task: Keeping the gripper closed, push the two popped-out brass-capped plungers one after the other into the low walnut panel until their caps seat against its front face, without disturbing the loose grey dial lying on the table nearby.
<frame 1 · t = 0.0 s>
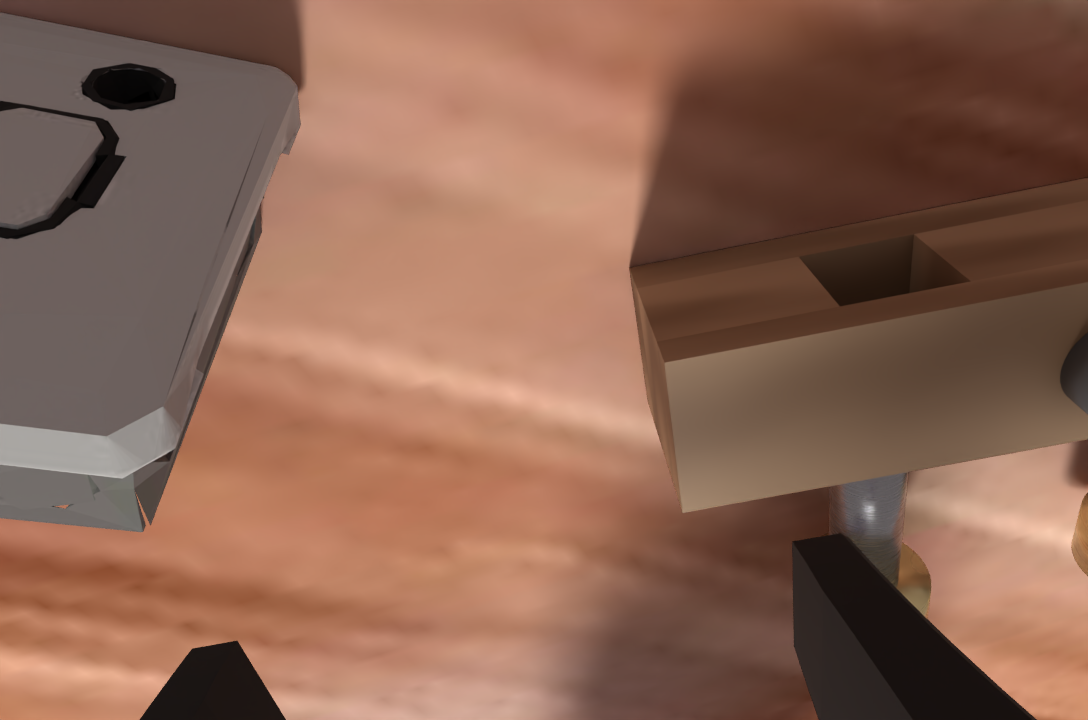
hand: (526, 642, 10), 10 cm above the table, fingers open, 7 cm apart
walnut panel: (996, 269, 19), on the table
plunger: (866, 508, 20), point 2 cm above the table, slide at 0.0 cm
electrical switch: (93, 153, 17), on the table
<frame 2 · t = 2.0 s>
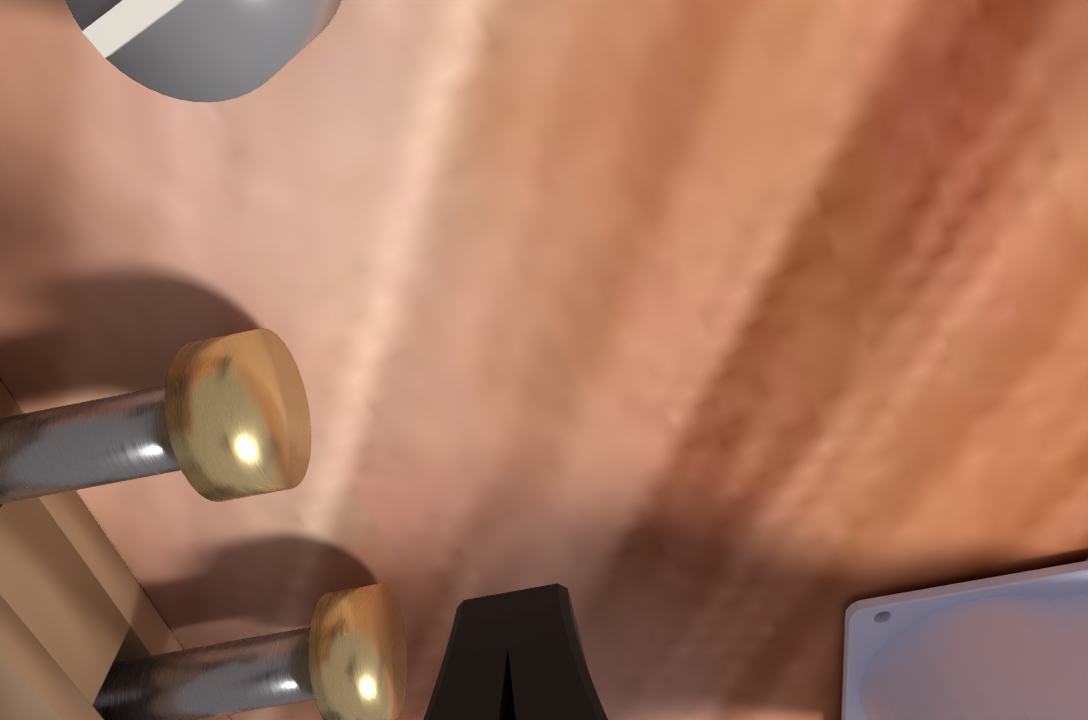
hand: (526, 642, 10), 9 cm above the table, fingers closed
walnut panel: (28, 539, 21), on the table
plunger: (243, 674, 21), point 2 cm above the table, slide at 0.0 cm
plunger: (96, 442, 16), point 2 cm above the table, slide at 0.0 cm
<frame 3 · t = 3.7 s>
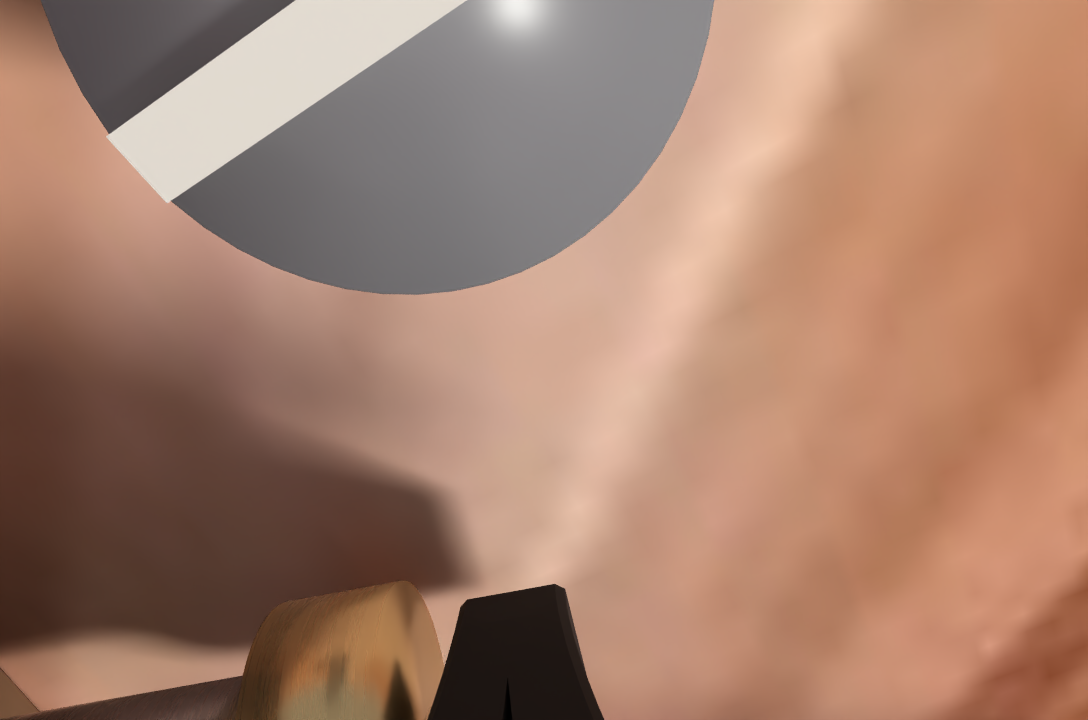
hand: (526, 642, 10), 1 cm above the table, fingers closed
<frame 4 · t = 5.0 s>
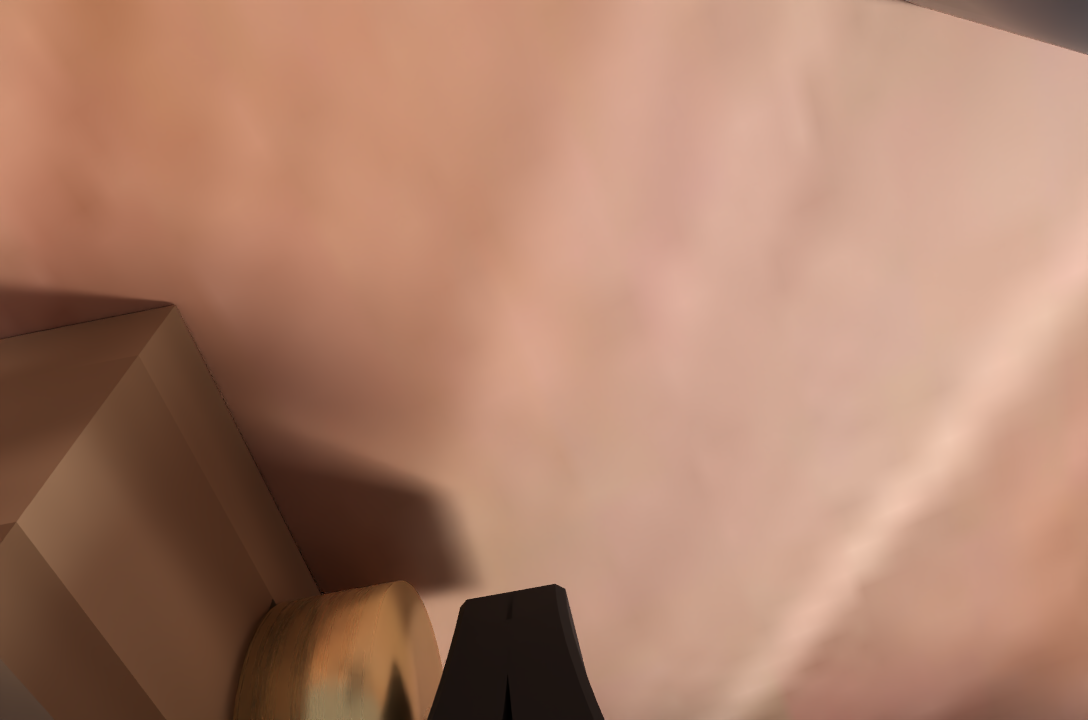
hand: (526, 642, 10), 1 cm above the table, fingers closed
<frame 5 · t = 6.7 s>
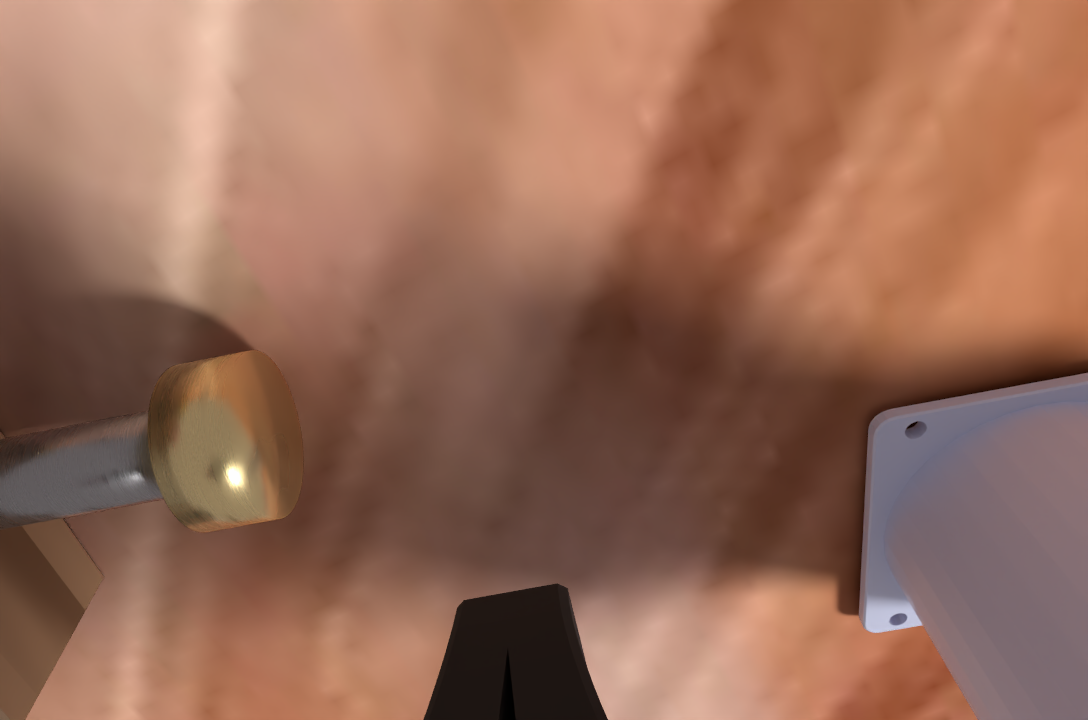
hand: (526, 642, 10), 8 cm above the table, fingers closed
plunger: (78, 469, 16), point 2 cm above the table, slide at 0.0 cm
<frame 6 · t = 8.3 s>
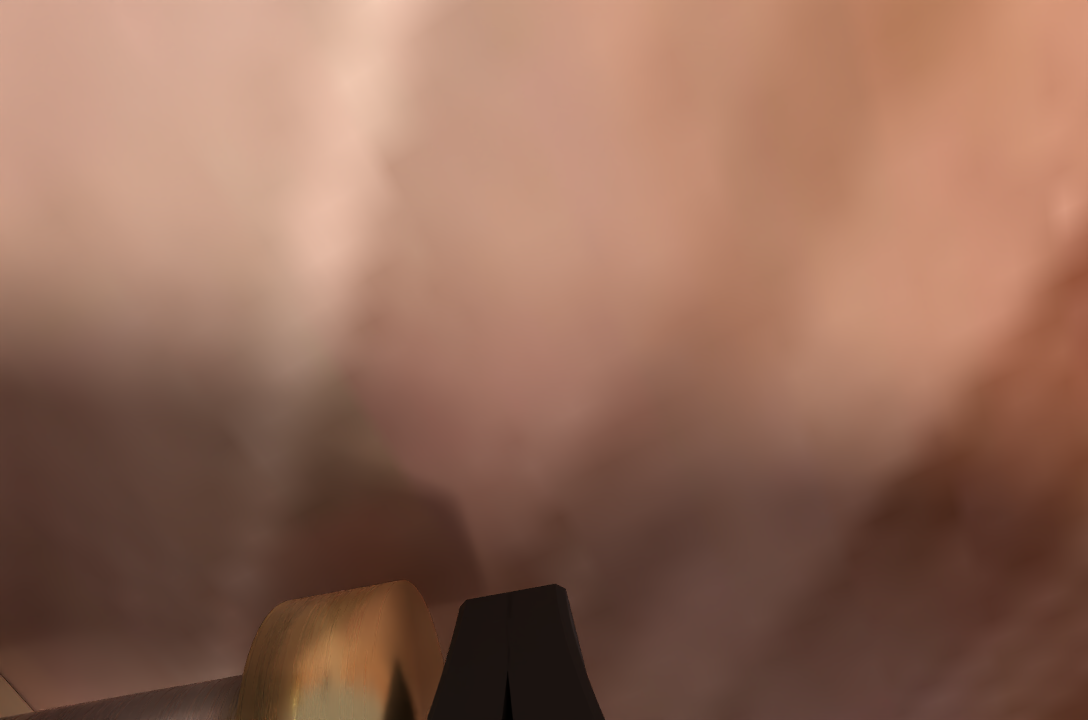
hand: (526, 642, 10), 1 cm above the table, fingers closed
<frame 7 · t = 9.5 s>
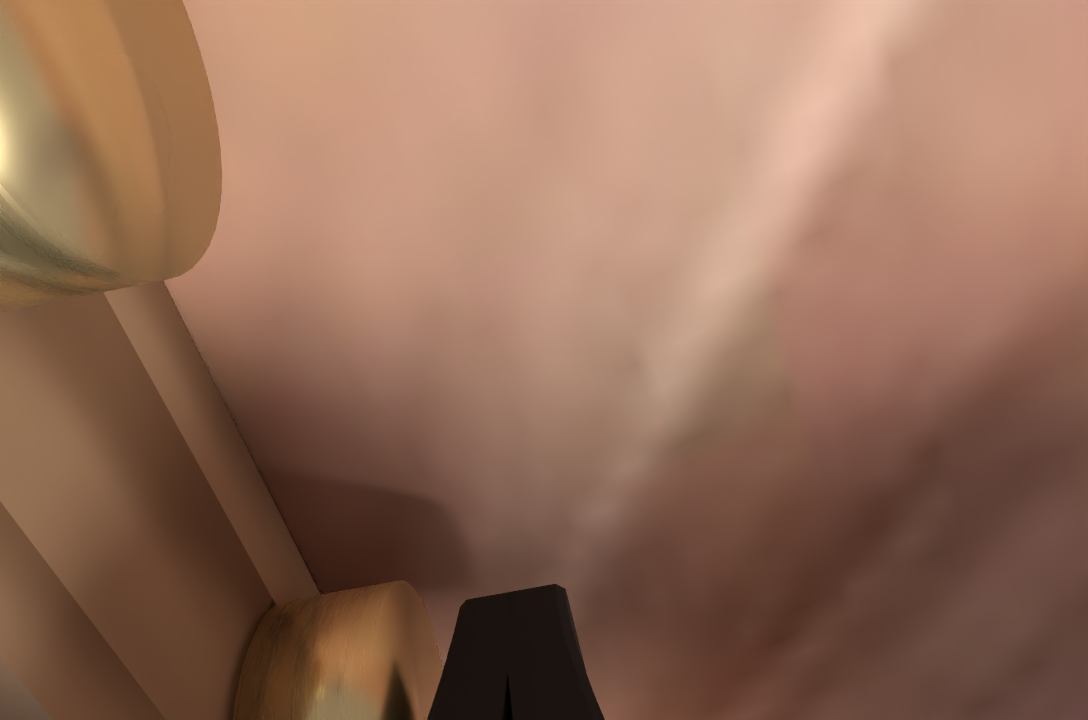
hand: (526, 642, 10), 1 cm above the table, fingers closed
walnut panel: (52, 407, 9), on the table
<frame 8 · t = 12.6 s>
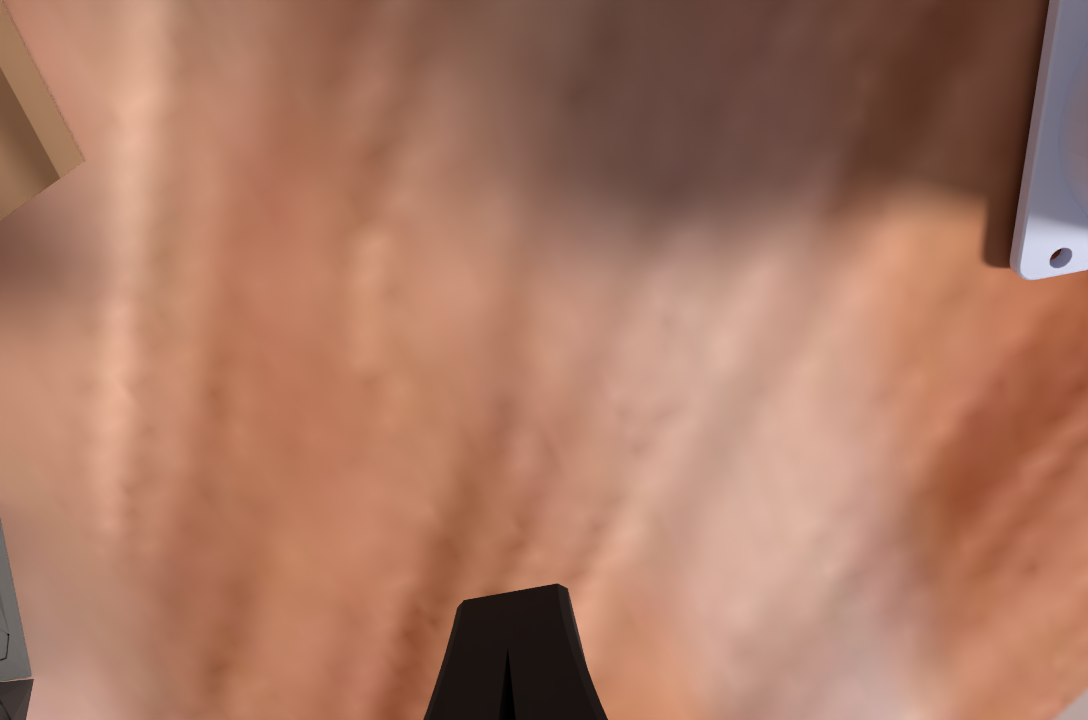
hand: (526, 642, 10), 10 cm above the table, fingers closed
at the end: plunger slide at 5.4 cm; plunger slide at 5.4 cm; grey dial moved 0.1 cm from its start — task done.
